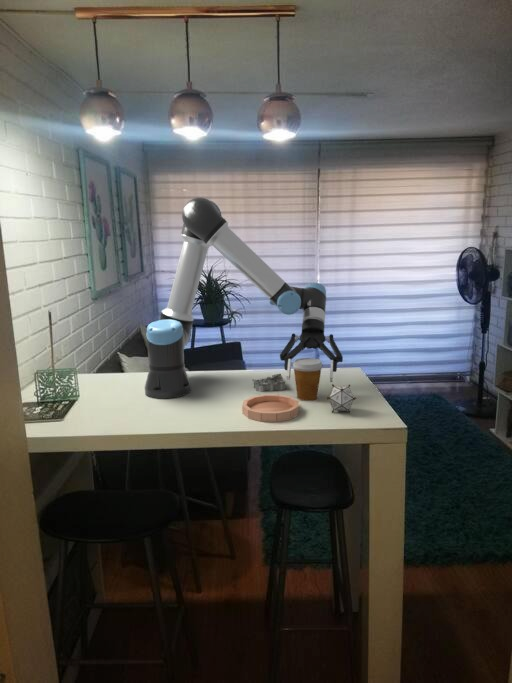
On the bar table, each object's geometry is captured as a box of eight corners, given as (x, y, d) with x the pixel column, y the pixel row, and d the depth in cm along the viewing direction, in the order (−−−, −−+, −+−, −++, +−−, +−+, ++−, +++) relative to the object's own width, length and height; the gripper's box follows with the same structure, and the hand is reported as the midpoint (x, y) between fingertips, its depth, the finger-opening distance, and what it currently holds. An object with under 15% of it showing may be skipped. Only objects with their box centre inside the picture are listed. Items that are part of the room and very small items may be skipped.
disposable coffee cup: (321, 393, 166) (322, 357, 164) (322, 402, 157) (323, 365, 155) (292, 392, 167) (292, 357, 165) (291, 402, 158) (291, 365, 156)
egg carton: (282, 384, 178) (282, 373, 177) (286, 391, 170) (287, 379, 170) (251, 386, 176) (251, 374, 175) (255, 392, 169) (255, 381, 168)
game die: (333, 422, 151) (316, 393, 153) (356, 409, 153) (339, 380, 155) (343, 418, 143) (324, 387, 144) (367, 403, 145) (348, 373, 147)
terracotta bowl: (234, 407, 154) (234, 399, 154) (282, 399, 161) (282, 391, 161) (257, 425, 140) (257, 416, 139) (308, 415, 147) (309, 407, 146)
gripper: (350, 330, 173) (349, 386, 162) (278, 329, 178) (271, 383, 166) (351, 318, 167) (349, 374, 156) (275, 317, 171) (269, 372, 160)
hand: (309, 379), depth 161 cm, fingers open, 13 cm apart
